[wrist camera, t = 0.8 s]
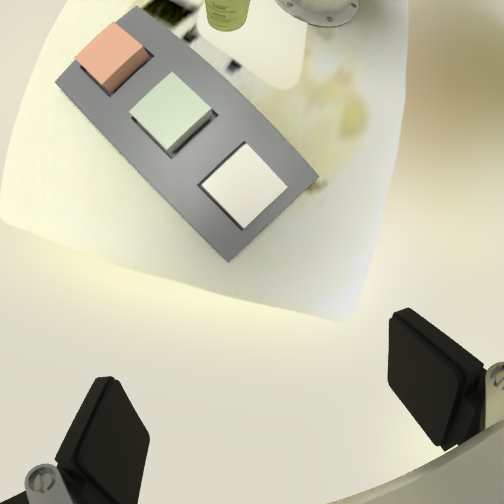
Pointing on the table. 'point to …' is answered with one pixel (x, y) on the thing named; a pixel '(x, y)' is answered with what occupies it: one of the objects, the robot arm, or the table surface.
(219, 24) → the tube
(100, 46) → the terracotta button
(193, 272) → the table surface
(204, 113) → the sage button
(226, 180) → the offwhite button
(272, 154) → the panel
